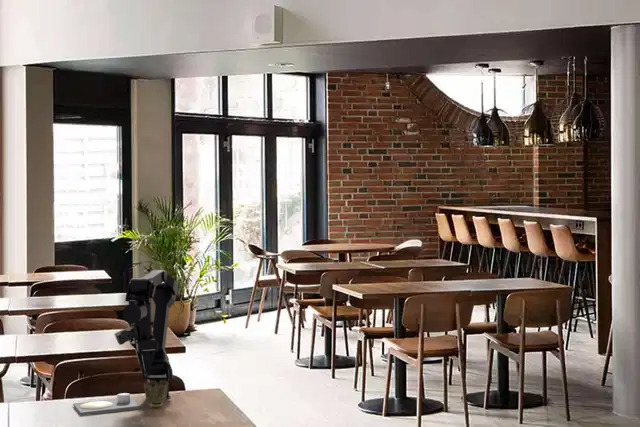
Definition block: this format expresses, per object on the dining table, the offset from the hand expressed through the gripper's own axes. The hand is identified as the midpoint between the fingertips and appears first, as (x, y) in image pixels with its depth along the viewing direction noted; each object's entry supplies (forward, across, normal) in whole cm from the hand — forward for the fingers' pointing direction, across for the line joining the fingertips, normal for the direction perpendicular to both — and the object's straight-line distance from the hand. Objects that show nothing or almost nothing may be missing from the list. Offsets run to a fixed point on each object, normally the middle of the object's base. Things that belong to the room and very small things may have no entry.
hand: (144, 368), depth 298 cm
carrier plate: (+12, -6, -11) cm, 17 cm away
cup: (+12, +2, +3) cm, 13 cm away
